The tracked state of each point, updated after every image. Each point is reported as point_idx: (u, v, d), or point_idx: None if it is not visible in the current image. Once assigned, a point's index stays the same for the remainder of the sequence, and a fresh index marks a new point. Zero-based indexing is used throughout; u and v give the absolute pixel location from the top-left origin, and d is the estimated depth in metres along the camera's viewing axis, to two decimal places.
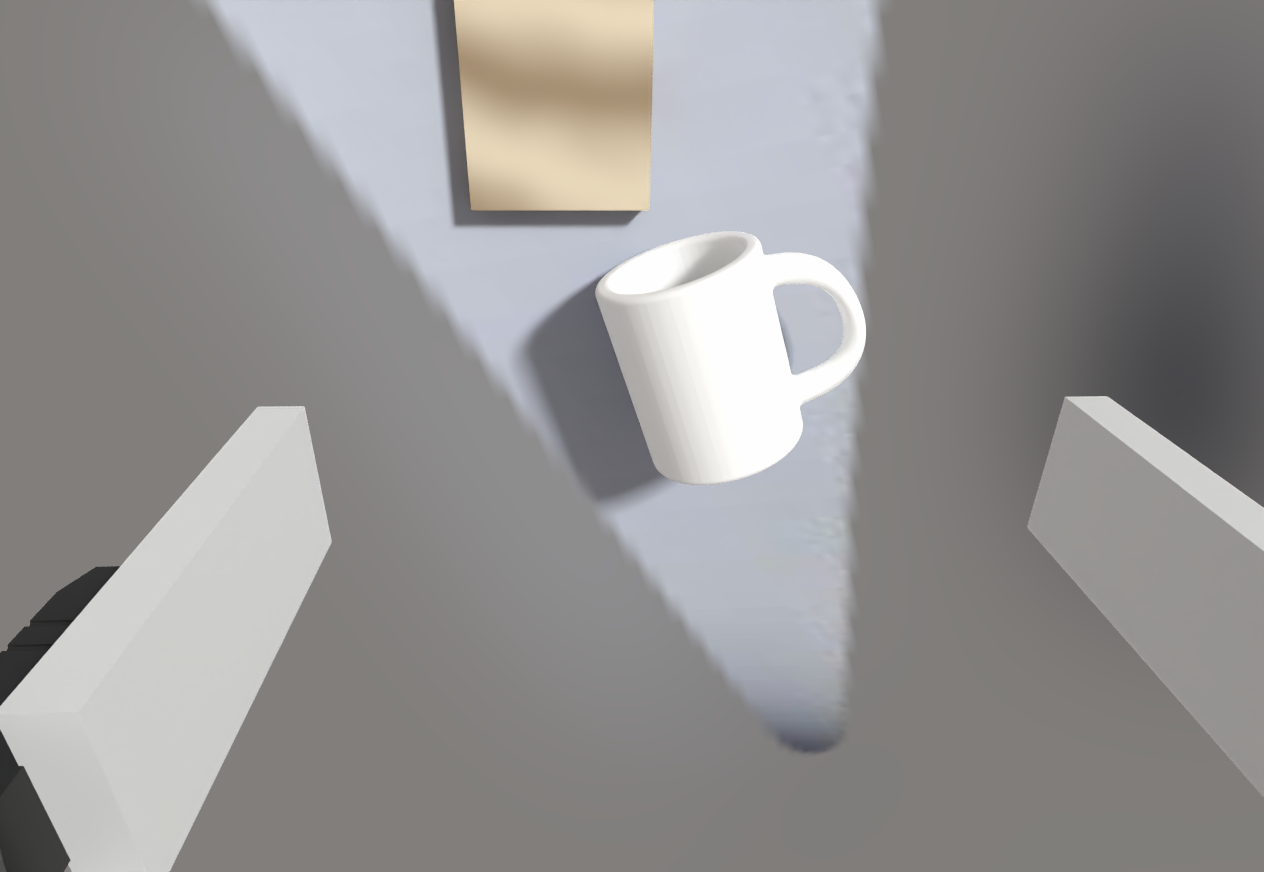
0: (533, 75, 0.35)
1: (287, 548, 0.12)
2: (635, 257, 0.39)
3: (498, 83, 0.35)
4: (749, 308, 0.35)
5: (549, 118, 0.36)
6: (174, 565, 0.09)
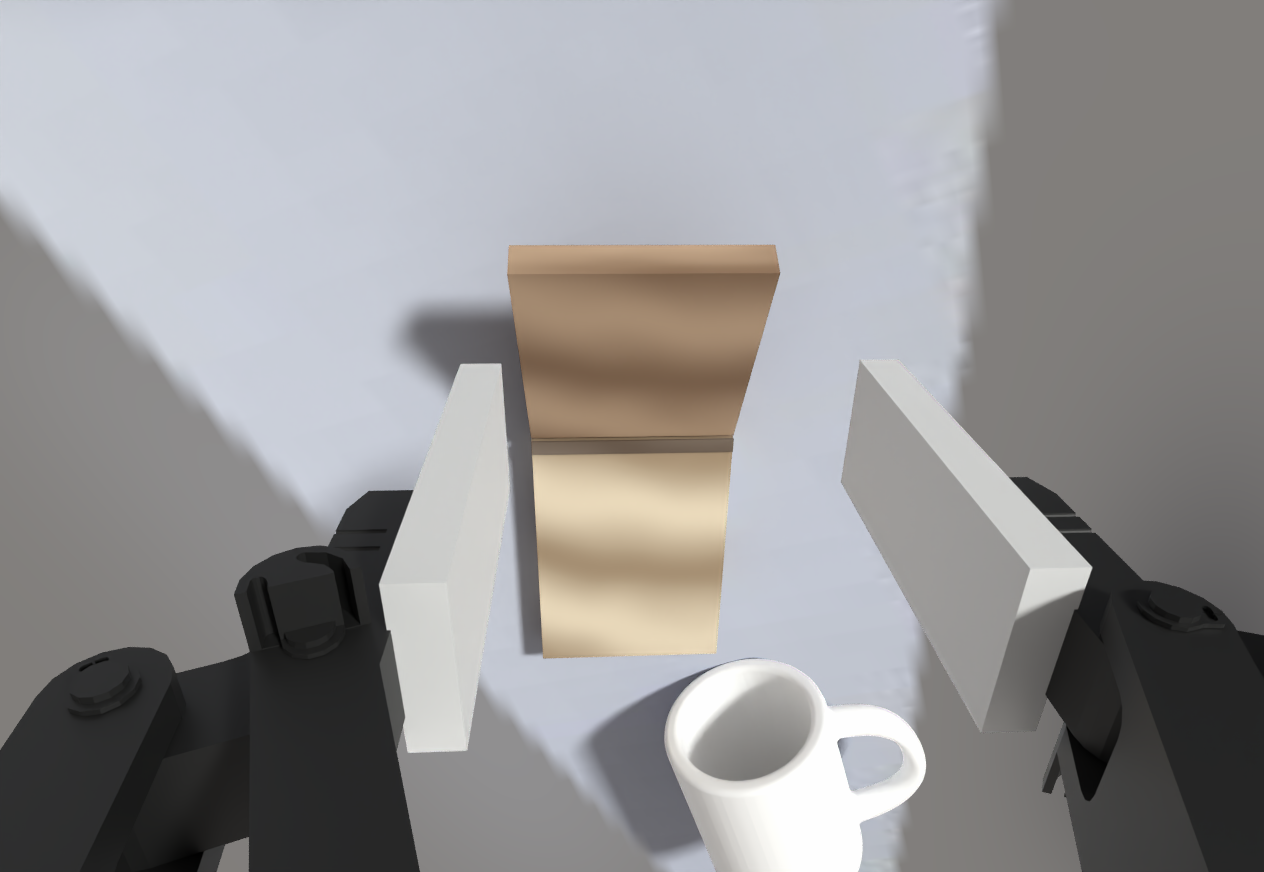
0: (608, 559, 0.36)
1: (497, 485, 0.14)
2: (699, 682, 0.40)
3: (575, 565, 0.36)
4: (819, 789, 0.36)
5: (622, 589, 0.37)
6: (460, 482, 0.11)
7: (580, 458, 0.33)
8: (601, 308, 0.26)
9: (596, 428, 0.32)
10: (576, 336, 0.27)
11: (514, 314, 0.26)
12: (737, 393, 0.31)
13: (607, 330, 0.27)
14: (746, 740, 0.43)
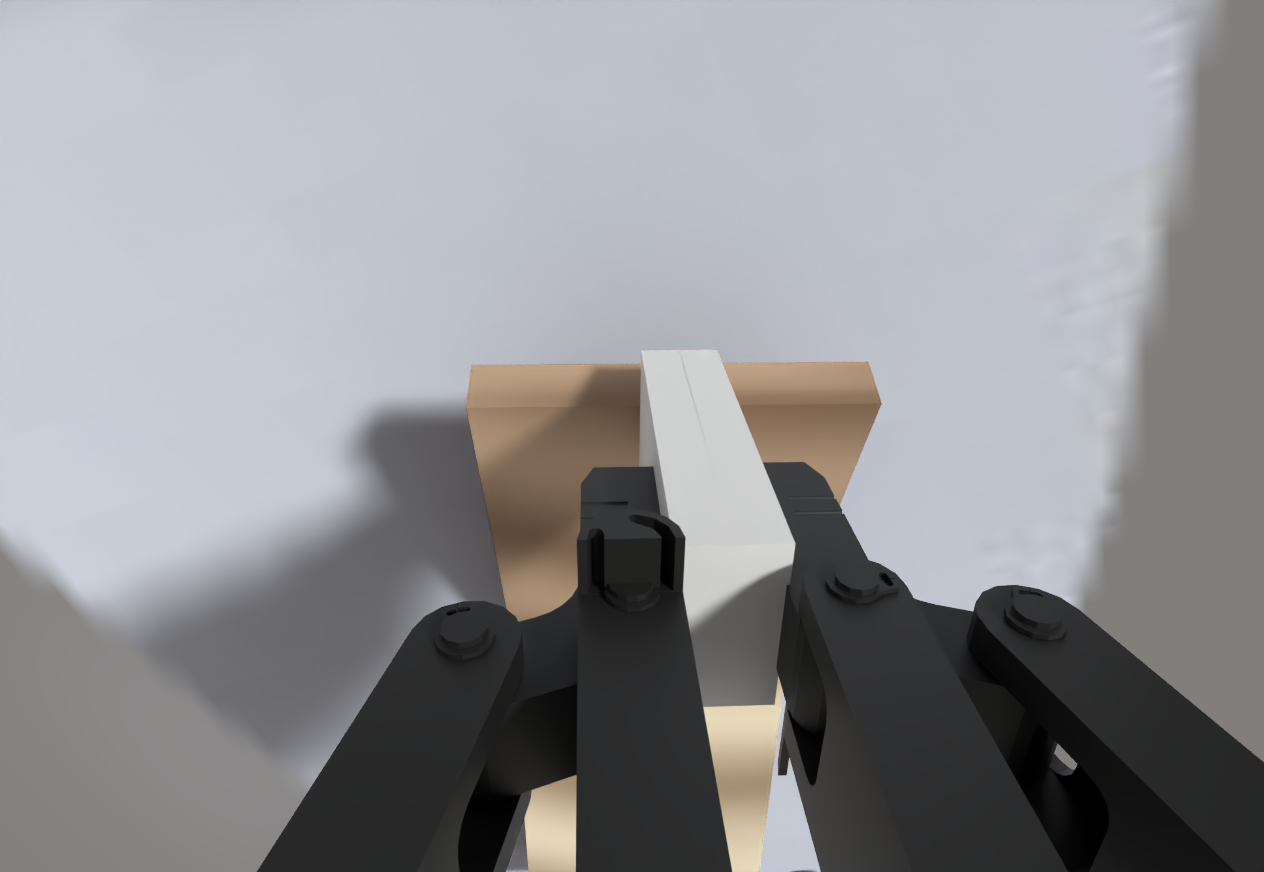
0: None
1: None
2: None
3: (572, 781, 0.27)
4: None
5: None
6: (700, 457, 0.12)
7: None
8: (610, 456, 0.17)
9: None
10: (572, 495, 0.18)
11: (479, 465, 0.17)
12: None
13: None
14: None
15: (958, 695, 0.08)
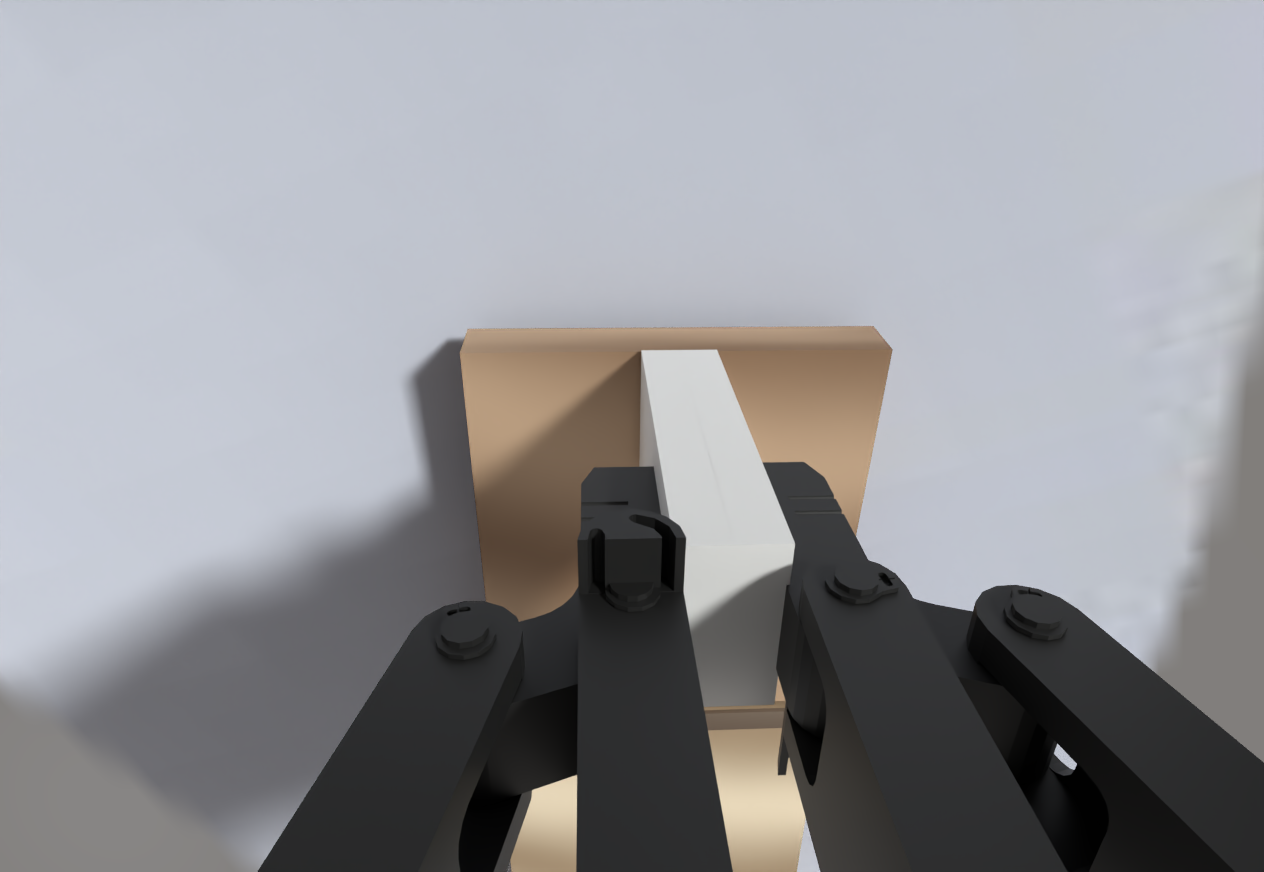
0: None
1: None
2: None
3: None
4: None
5: None
6: (700, 457, 0.12)
7: None
8: (610, 425, 0.16)
9: None
10: (570, 486, 0.17)
11: (470, 439, 0.16)
12: None
13: None
14: None
15: (958, 695, 0.08)
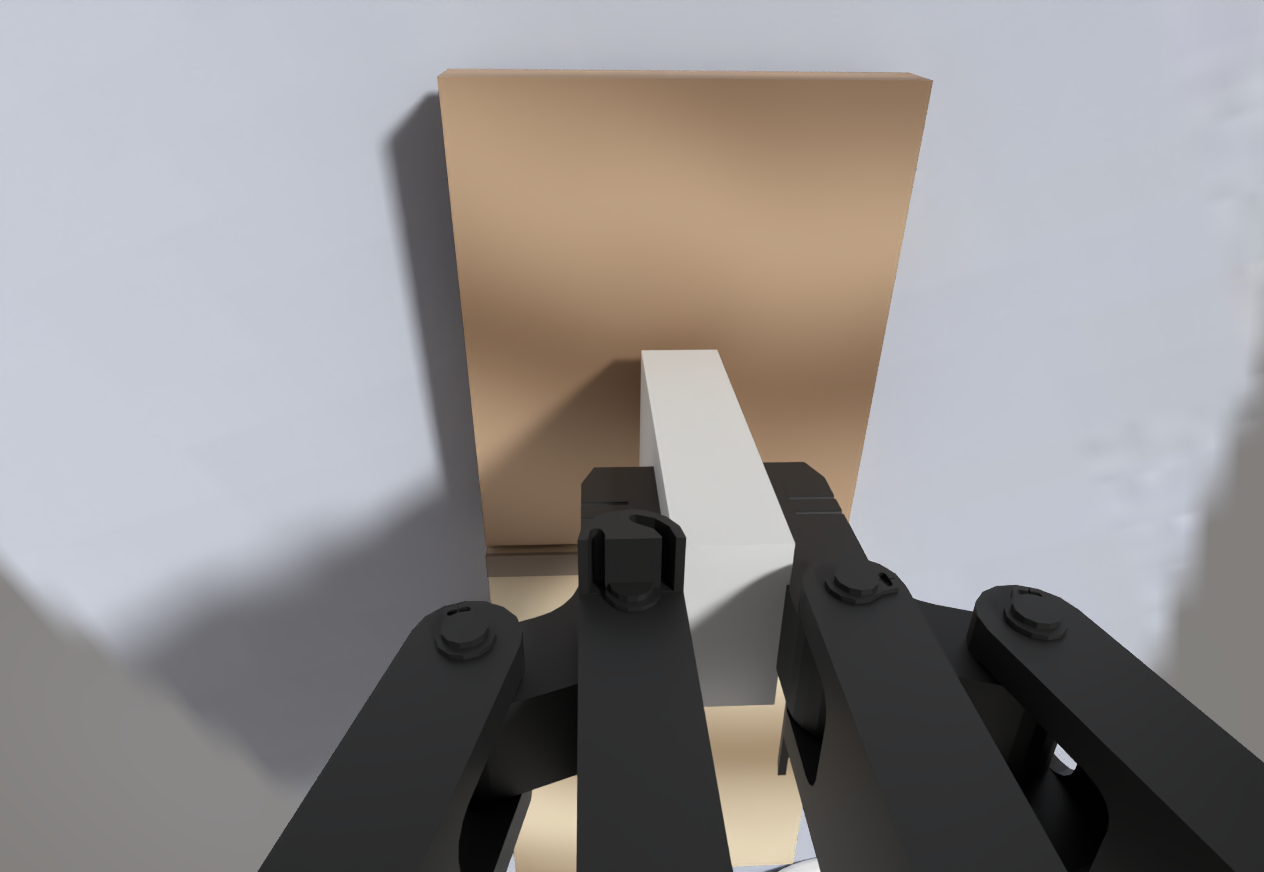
0: None
1: None
2: None
3: None
4: None
5: None
6: (700, 457, 0.12)
7: (574, 581, 0.19)
8: (610, 178, 0.14)
9: None
10: (565, 258, 0.15)
11: (451, 193, 0.14)
12: (853, 421, 0.17)
13: (621, 239, 0.15)
14: None
15: (958, 695, 0.08)
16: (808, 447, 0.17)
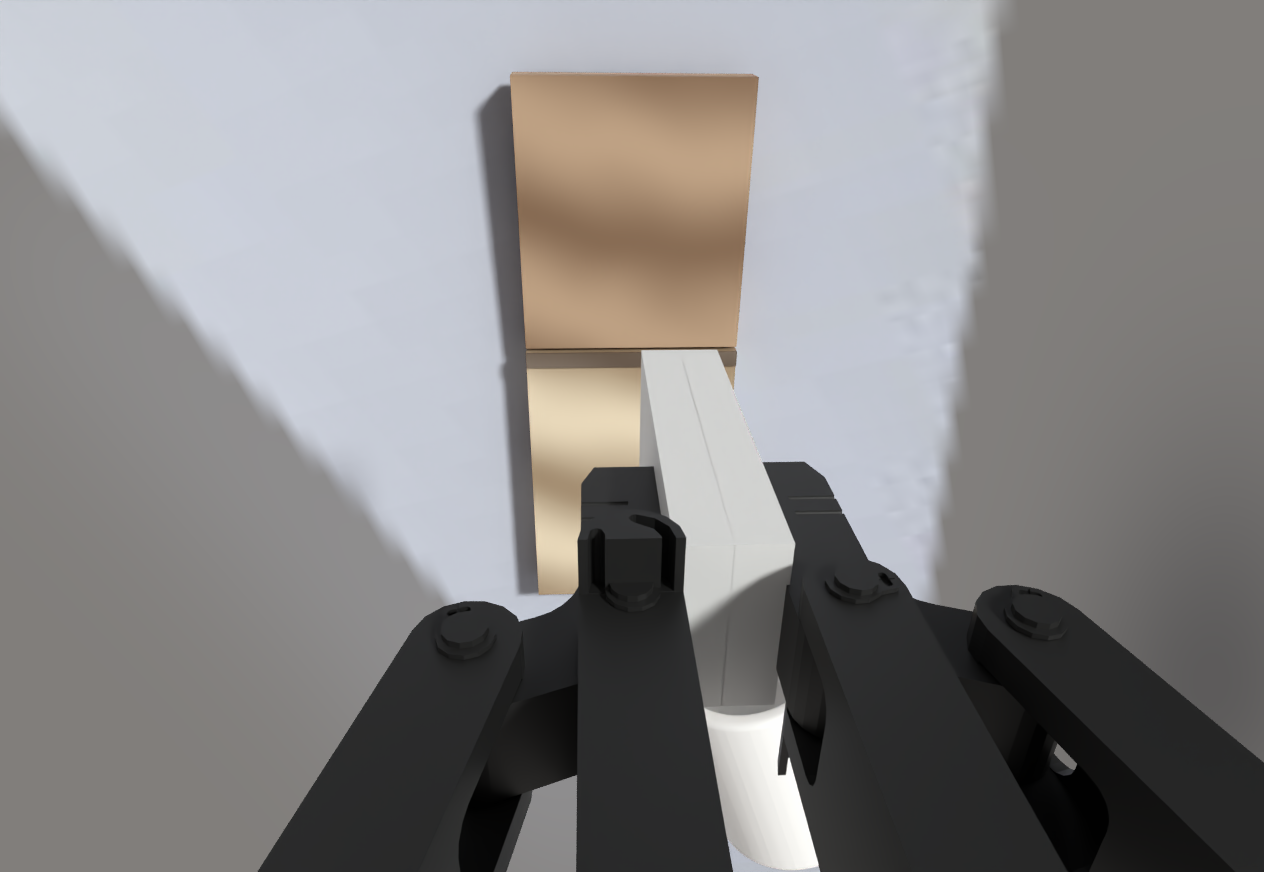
0: None
1: None
2: None
3: (571, 491, 0.35)
4: None
5: None
6: (700, 457, 0.12)
7: (577, 372, 0.32)
8: (596, 127, 0.28)
9: (593, 331, 0.31)
10: (573, 171, 0.28)
11: (514, 135, 0.28)
12: (734, 269, 0.30)
13: (602, 161, 0.28)
14: None
15: (957, 695, 0.08)
16: (710, 286, 0.31)
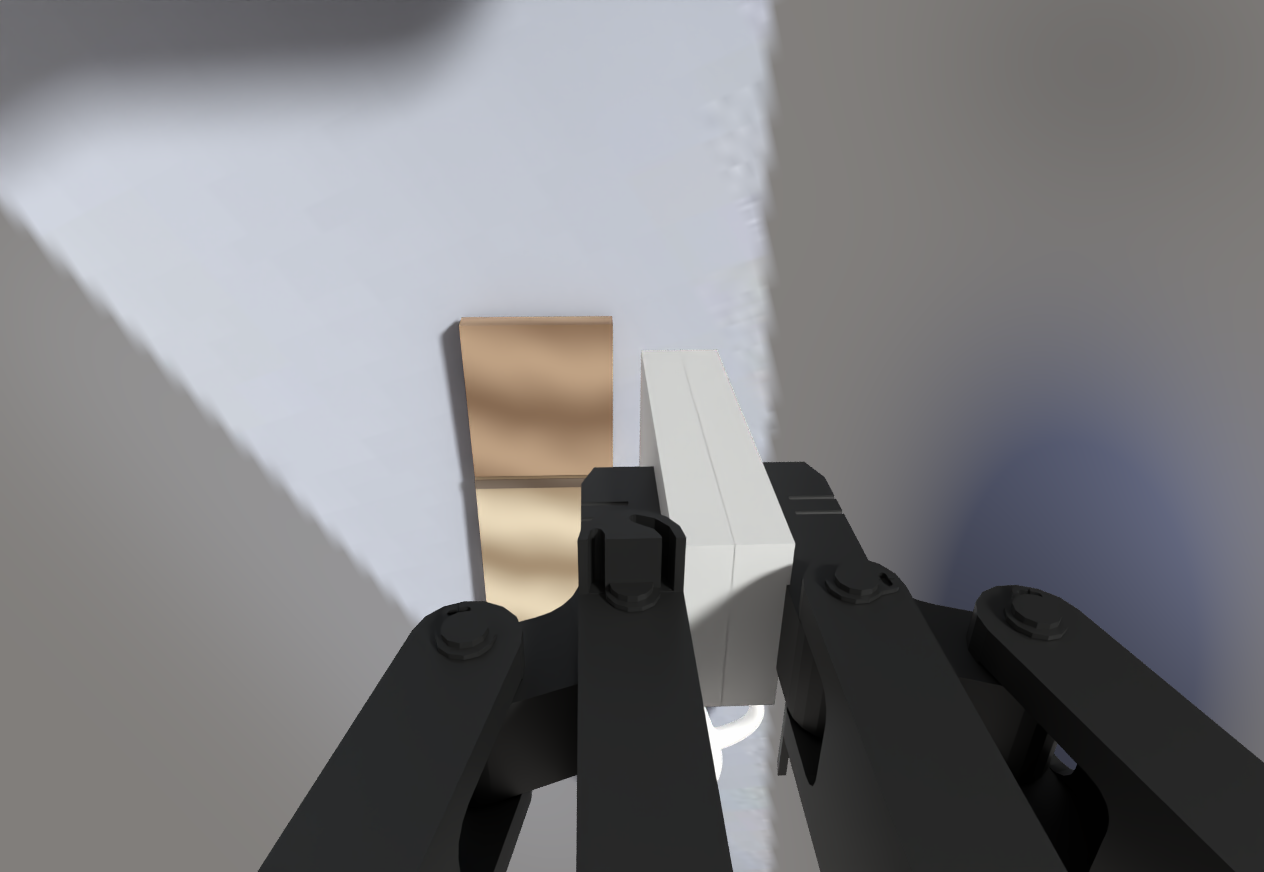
0: (532, 559, 0.52)
1: None
2: None
3: (508, 564, 0.52)
4: None
5: (543, 581, 0.52)
6: (700, 457, 0.12)
7: (508, 491, 0.49)
8: (513, 352, 0.45)
9: (518, 466, 0.48)
10: (500, 376, 0.45)
11: (462, 357, 0.45)
12: (607, 429, 0.47)
13: (518, 370, 0.45)
14: None
15: (958, 695, 0.08)
16: (592, 439, 0.48)
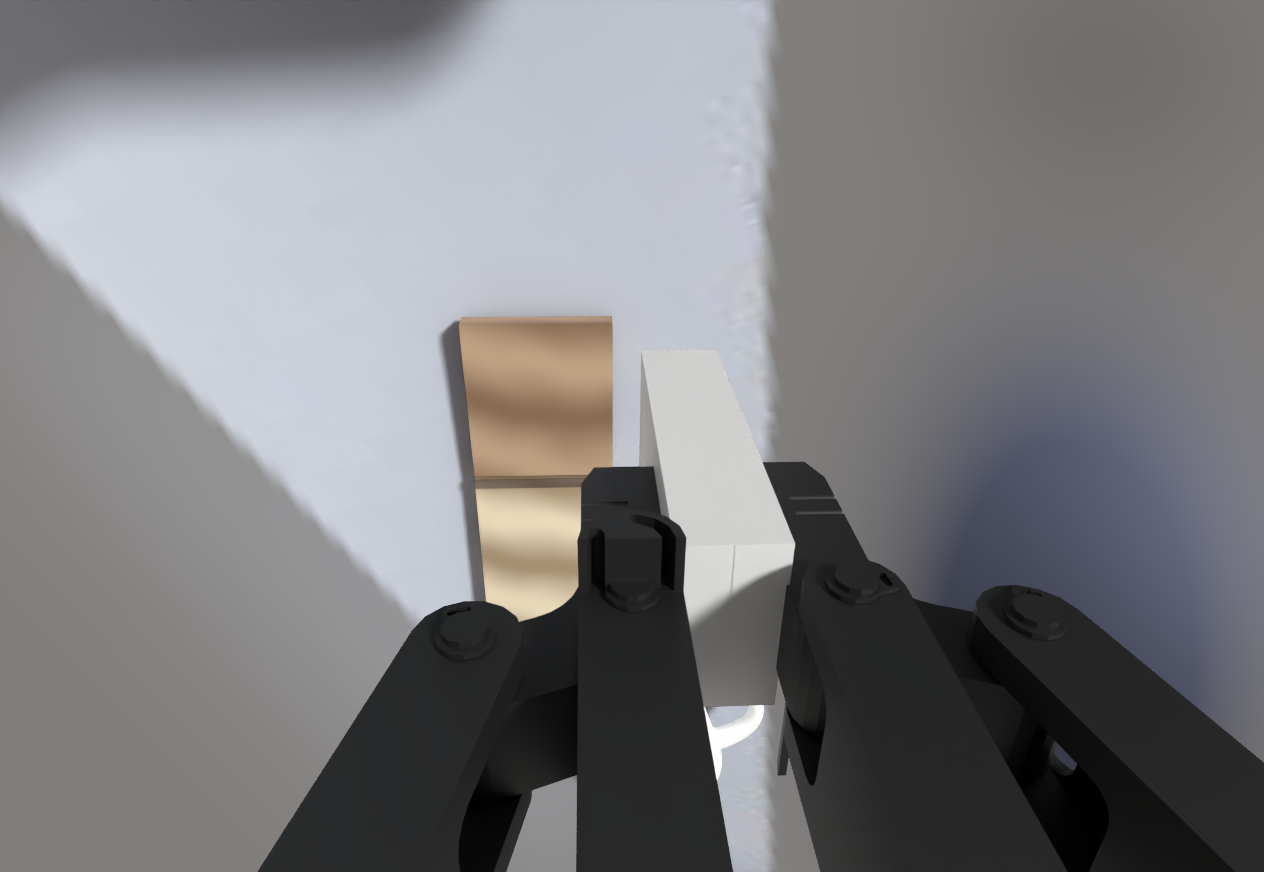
0: (531, 559, 0.52)
1: None
2: None
3: (508, 564, 0.52)
4: None
5: (542, 580, 0.52)
6: (700, 457, 0.12)
7: (508, 491, 0.49)
8: (513, 352, 0.45)
9: (518, 466, 0.48)
10: (500, 376, 0.45)
11: (462, 357, 0.45)
12: (607, 429, 0.47)
13: (518, 370, 0.45)
14: None
15: (958, 695, 0.08)
16: (592, 439, 0.48)
